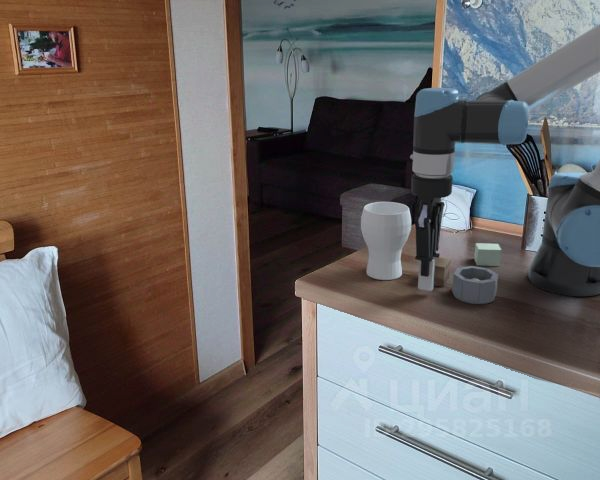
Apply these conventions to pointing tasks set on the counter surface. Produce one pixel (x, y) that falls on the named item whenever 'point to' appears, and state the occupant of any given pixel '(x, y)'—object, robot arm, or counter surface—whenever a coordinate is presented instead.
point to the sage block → (487, 254)
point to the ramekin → (475, 285)
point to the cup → (385, 237)
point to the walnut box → (441, 271)
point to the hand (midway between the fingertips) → (425, 288)
